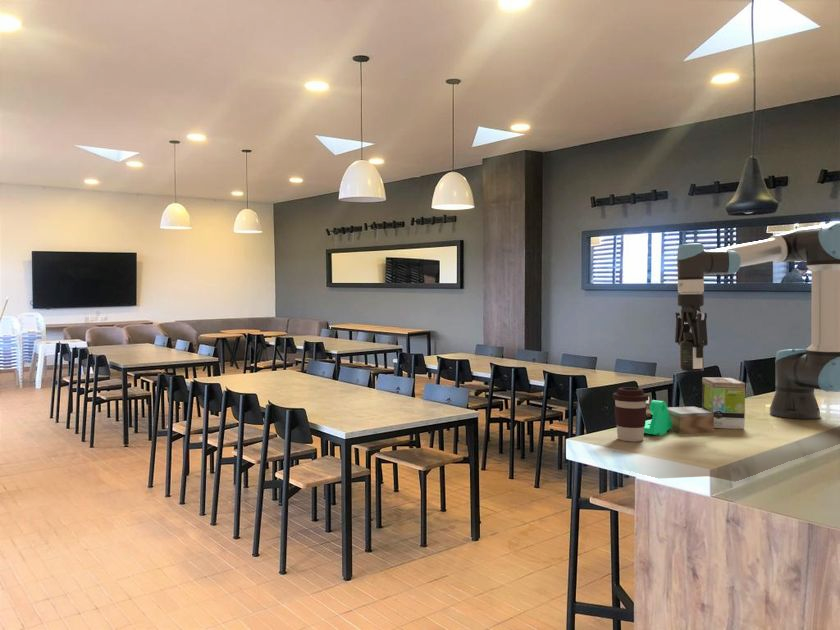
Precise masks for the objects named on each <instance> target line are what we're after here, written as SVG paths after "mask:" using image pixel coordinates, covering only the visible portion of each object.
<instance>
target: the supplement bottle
mask: <svg viewBox="0 0 840 630" xmlns="http://www.w3.org/2000/svg"><path fill="white" fill-rule="evenodd" d="M683 338H684V340H683V341H681V342H680V345H679V369H680V370H681V371H682V372H703V371H704V363H705V361H704V359H705V358H704V357H705V356H704V351H705V350H704V349H705V348H704V347H705V346H704V347H703V368H702V369H693V346H694V340H693V335H692V331H690V332H683Z"/></svg>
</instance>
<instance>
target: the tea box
mask: <svg viewBox="0 0 840 630" xmlns="http://www.w3.org/2000/svg"><path fill="white" fill-rule="evenodd" d="M701 381H702V382H701V383H702V384H701V386H702V387H701V409H704V410H707V411H710V412H714V429H732V430H733V429H734V430H740V429H741V430H745V426H746V425H745V423H746V422H745V419H746V417H745V415H746V414H745V413H746V382H743V381H741V380H739V379H735V378H733V377H720V376H719V377H718V376H717V377H710V376H709V377H706V376H705V377H702V379H701Z"/></svg>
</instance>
